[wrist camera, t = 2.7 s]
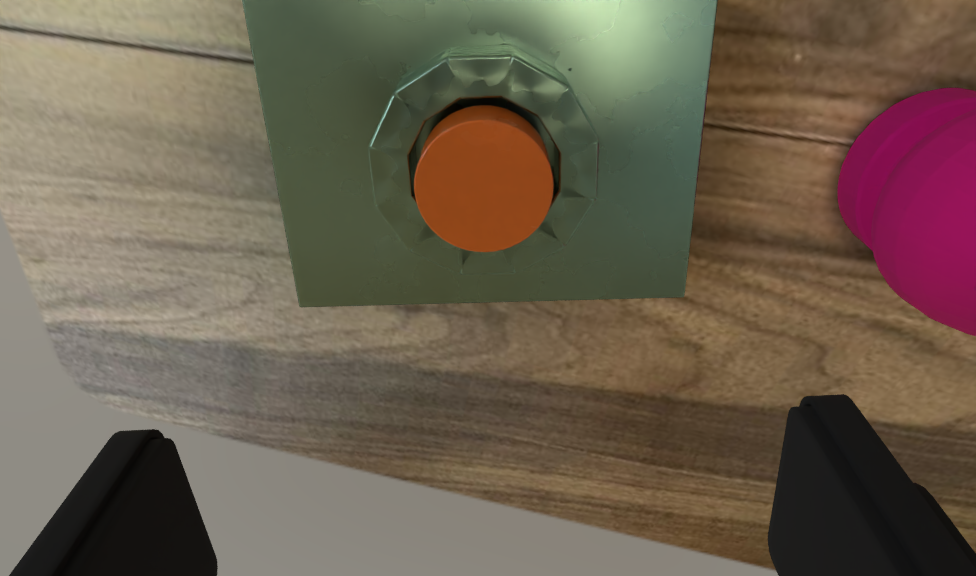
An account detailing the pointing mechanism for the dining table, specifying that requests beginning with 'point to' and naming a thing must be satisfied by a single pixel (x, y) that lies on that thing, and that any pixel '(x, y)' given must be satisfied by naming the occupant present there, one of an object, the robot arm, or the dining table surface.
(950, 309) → the pepper mill
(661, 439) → the dining table surface
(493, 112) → the button
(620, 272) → the green button base
